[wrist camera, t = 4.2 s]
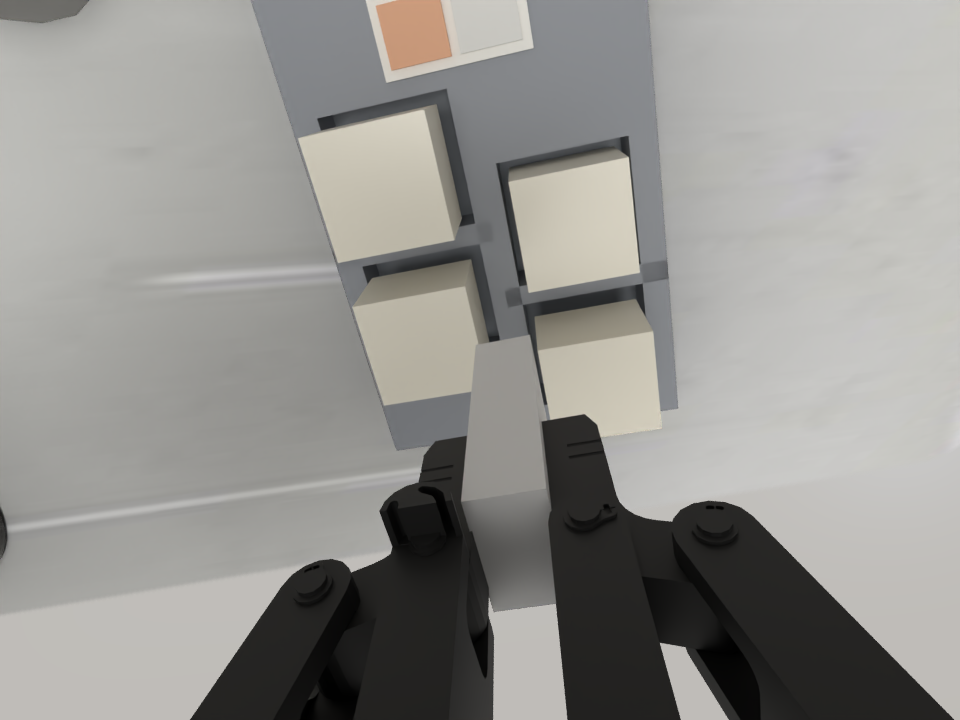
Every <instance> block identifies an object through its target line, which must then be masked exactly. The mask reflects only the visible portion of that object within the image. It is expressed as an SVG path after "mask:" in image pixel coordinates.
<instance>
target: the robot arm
mask: <svg viewBox="0 0 960 720" xmlns="http://www.w3.org/2000/svg"><path fill="white" fill-rule="evenodd" d="M421 472H422V473H421V474H420V478H419V483H415V484H412V485H408V486H406V487H404V488H402V489H400V490H398V491H397V492H395V493H393V494H392V495H391V496H390V497H389V498H388V499H387V500H386V501H385V502H384V504H383V506H382V508H381V509H380V511H379V512H380V514H381V517H382V520H383V522H384V525H385V528H386V530H387V533H388V536H389V538H390V541H391V544H392V546H393V547H392V551H391V554H390V555H389V556H387V557H386V558H384V559H382V560H380V561H378V562H376V563H374V564H372V565H369V566H367V567H364V568H362V569H359V570H357V571H354V572H352V573H351V572H350V569H349V568H348V567H347V566H346V565H345V564H344V563H343V562H341V561H337V560H333V559H329V560H320V561H317V562H314V563H312V564H309V565H307V566H304V567H303V568H301V569H300V570H299V571H297V572H296V573H294V574H293V575H292V576H291V577H290V578H289V579H288V580H287V581H286V582H285V583H284V585H283V586H282V587H281V588H280V590H279V591H278V593H277V594H276V596H275V597H274V599H273V600H272V602H271V603H270V604H269V606H268V607H267V609H266V610H265V612H264V613H263V615H262V616H261V617H260V619H259V620H258V622H257V623H256V625H255V626H254V628H253V629H252V631H251V632H250V633H249V635H248V636H247V638H246V639H245V641H244V642H243V644H242V645H241V647H240V648H239V649H238V651H237V653H236V654H235V655H234V657H233V658H232V660H231V661H230V663H229V664H228V665H227V667H226V669H225V670H224V671H223V673H222V674H221V676H220V677H219V679H218V680H217V681H216V683H215V684H214V686H213V687H212V689H211V690H210V692H209V693H208V695H207V696H206V697H205V699H204V700H203V702H202V703H201V705H200V706H199V708H198V709H197V711H196V712H195V713H194V715H193V716H192V718H191V719H190V720H493V668H494V667H493V666H494V663H493V662H494V635H493V631H492V626H491V623H490V620H489V616H488V603H489V602H488V601H489V598H490V601H491V605H492V608H493V611H494V612H496V611H505V610H512V609H520V608H527V607H535V606H542V605H549V604H556V608H557V618H558V628H559V638H560V647H561V658H562V668H563V679H564V688H565V699H566V709H567V719H568V720H681V719H680V715H679V712H678V708H677V705H676V701H675V697H674V694H673V690H672V686H671V683H670V679H669V676H668V672H667V668H666V665H665V661H664V657H663V653H662V650H661V646H660V643H665V644H671V645H677V646H682V647H686V650H687V652H688V654H689V656H690V658H691V659H692V661H693V662H694V664H695V666H696V667H697V669H698V671H699V672H700V674H701V675H702V677H703V678H704V680H705V682H706V683H707V685H708V687H709V688H710V690H711V691H712V693H713V695H714V696H715V698H716V700H717V701H718V703H719V704H720V706H721V708H722V709H723V711H724V712H725V714H726V716H727V717H728V719H729V720H954V719H953V718H952V717H951V716H950V715H949V714H948V713H947V712H946V711H945V710H944V709H943V708H942V707H941V706H940V705H939V704H938V703H937V702H936V701H935V700H934V699H933V698H932V697H931V696H930V695H929V694H928V693H927V692H926V691H925V690H924V689H923V688H922V687H921V686H920V685H919V684H918V683H917V682H916V681H915V680H914V679H913V678H912V677H911V676H910V675H909V674H908V673H907V671H906V670H904V669H903V668H902V667H901V666H900V665H899V663H898V662H897V661H896V660H895V659H894V658H893V657H892V656H891V655H890V654H889V653H888V652H887V651H886V650H885V649H884V648H882V646H881V645H880V644H879V643H878V642H877V641H876V640H875V639H874V638H873V637H872V636H871V635H870V634H869V633H868V632H867V631H866V630H865V629H864V628H863V627H862V626H861V625H860V624H859V623H858V622H857V621H856V620H855V619H854V618H853V617H852V616H851V615H850V614H849V613H848V612H847V611H846V610H845V609H844V608H843V607H842V606H841V605H840V604H839V603H838V602H837V601H836V600H835V599H834V598H833V597H832V596H831V595H830V594H829V593H828V592H827V591H826V590H825V589H824V588H823V587H822V586H821V585H820V584H819V583H818V582H817V581H816V579H815V578H814V577H813V576H812V575H811V574H810V573H809V572H807V571H806V569H805V568H804V567H803V566H802V565H801V564H800V563H799V562H797V560H796V559H795V558H794V557H793V556H792V555H791V554H790V553H789V552H788V551H787V550H786V549H785V548H784V547H783V546H782V545H781V544H780V543H779V542H778V541H777V540H776V539H775V538H774V537H773V536H772V535H771V534H770V533H769V532H768V531H767V530H766V529H765V528H764V527H763V526H762V525H761V524H760V523H759V522H758V521H757V520H756V519H755V518H754V517H753V516H752V515H751V514H749V513H748V512H746V511H745V510H743V509H742V508H740V507H738V506H735V505H732V504H729V503H726V502H716V501H705V502H699V503H693V504H691V505H689V506H687V507H685V508H683V509H682V510H680V511H679V513H678V514H677V515H676V516H675V518H674V519H673V522H669V521H658V520H652V519H646V518H643V517H640V516H638V515H635V514H633V513H631V512H630V511H628V510H627V509H625V508H624V507H623V505H622V504H621V503H620V502H619V500H618V498H617V496H616V492H615V488H614V485H613V481H612V477H611V474H610V470H609V466H608V463H607V459H606V455H605V452H604V448H603V444H602V441H601V437H600V433H599V430H598V426H597V424H596V423H595V422H593V421H592V420H591V419H590V418H589V417H588V416H586V415H585V414H582V415H576V416H570V417H564V418H558V419H553V420H547V417H546V413H545V408H544V403H543V398H542V393H541V388H540V383H539V378H538V373H537V368H536V363H535V358H534V353H533V348H532V343H531V339H530V335H526V336H521V337H516V338H510V339H505V340H500V341H494V342H489V343H484V344H479V345H476V348H475V359H474V369H473V380H472V391H471V401H470V412H469V422H468V433H467V436H462V437H456V438H450V439H444V440H439V441H435V442H434V443H433V445H432V446H431V447H430V449H429V450H428V451H427V452H426V454H425V455H424V459H423V464H422V469H421ZM5 541H6V535H5V528H4V523H3V520H2V517H1V515H0V559H1V557H2V554H3V552H4V548H5Z"/></svg>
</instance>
